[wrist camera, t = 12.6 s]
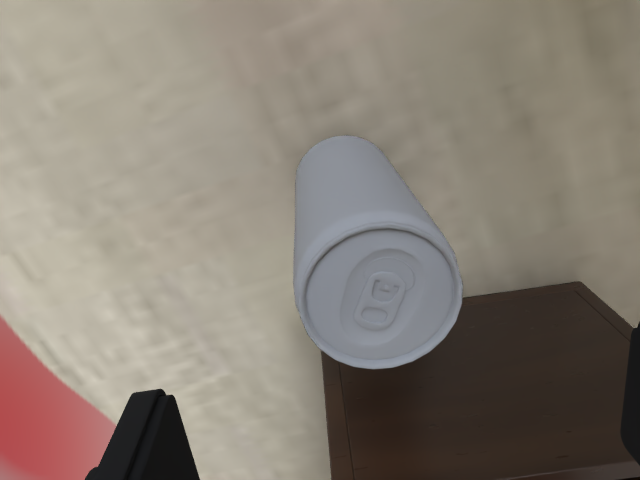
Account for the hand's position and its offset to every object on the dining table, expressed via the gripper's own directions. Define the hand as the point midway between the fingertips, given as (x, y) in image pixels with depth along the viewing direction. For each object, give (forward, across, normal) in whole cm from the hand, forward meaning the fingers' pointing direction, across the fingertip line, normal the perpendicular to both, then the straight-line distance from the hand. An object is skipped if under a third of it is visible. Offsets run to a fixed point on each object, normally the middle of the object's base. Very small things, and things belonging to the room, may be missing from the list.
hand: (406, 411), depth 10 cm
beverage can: (+16, 0, 0) cm, 16 cm away
